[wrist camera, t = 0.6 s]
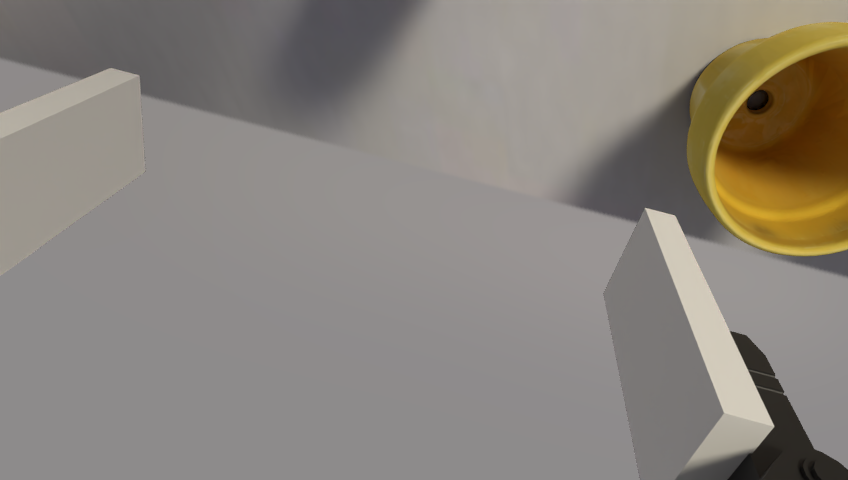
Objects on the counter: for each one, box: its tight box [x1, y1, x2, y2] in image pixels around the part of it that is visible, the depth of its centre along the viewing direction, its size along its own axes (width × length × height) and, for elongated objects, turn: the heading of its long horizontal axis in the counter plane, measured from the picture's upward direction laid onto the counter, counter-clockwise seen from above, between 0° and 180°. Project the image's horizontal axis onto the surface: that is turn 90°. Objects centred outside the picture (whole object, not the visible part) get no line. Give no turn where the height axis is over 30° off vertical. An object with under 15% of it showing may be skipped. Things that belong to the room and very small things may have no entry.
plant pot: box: [687, 22, 848, 256], centre depth 29 cm, size 10×10×10 cm
